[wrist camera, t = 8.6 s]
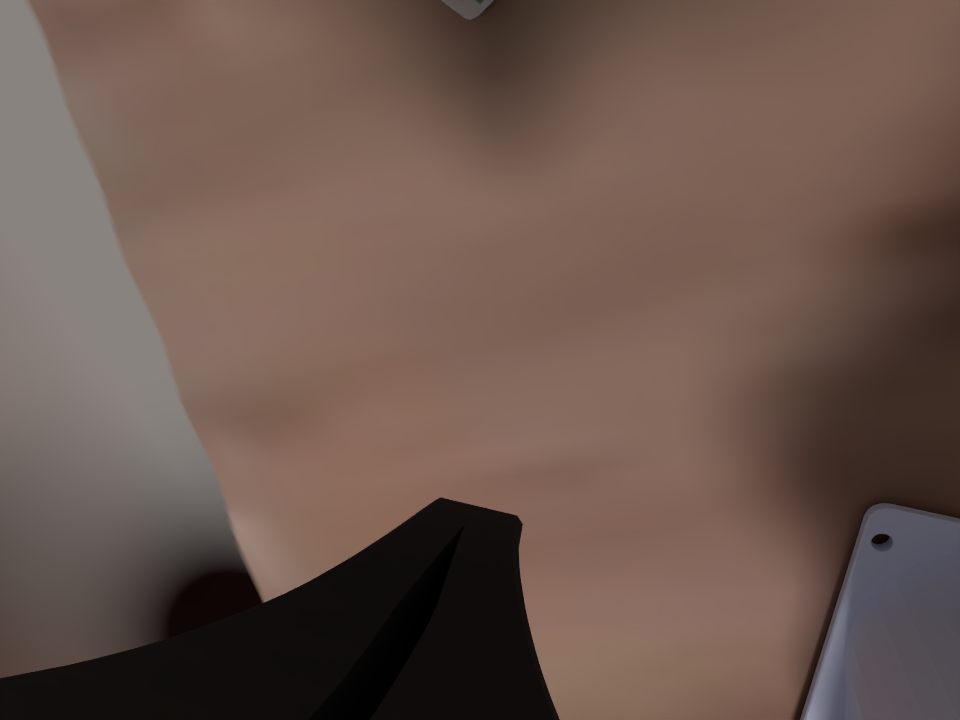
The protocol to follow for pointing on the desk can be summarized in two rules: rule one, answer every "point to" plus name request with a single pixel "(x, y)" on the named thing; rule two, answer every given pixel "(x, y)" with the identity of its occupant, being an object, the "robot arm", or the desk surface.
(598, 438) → the desk surface
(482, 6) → the skincare box
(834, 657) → the robot arm
